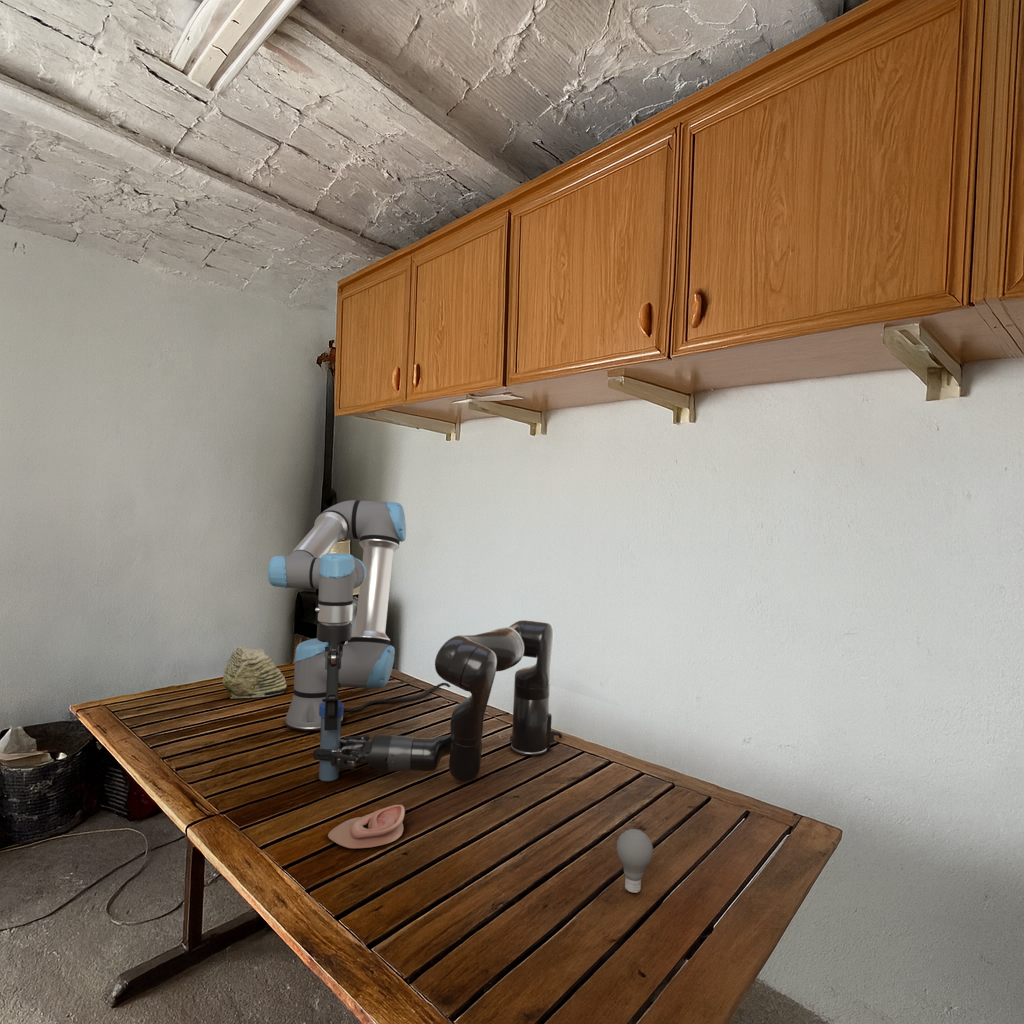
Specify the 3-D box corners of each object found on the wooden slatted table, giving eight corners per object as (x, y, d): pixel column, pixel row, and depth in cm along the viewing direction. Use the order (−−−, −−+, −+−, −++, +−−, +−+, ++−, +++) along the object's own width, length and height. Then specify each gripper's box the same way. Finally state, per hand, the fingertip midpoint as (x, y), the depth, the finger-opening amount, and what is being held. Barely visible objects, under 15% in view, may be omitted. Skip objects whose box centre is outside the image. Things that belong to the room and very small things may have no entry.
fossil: (218, 695, 195) (220, 647, 195) (278, 685, 208) (279, 640, 207) (228, 703, 189) (230, 653, 188) (289, 692, 201) (290, 645, 201)
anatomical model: (320, 822, 115) (348, 794, 127) (319, 843, 116) (348, 813, 127) (388, 833, 113) (411, 803, 124) (387, 855, 113) (410, 823, 124)
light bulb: (610, 879, 108) (613, 822, 108) (644, 879, 109) (647, 822, 109) (619, 902, 102) (622, 840, 102) (655, 901, 103) (658, 840, 103)
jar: (342, 777, 143) (345, 708, 143) (324, 783, 140) (326, 711, 140) (333, 771, 146) (336, 703, 146) (315, 776, 143) (318, 706, 143)
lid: (319, 711, 145) (319, 701, 145) (343, 709, 146) (343, 700, 146) (318, 718, 140) (319, 709, 140) (343, 717, 141) (343, 707, 141)
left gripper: (319, 614, 151) (315, 709, 152) (315, 632, 132) (311, 741, 132) (351, 614, 153) (347, 707, 154) (352, 631, 134) (348, 739, 134)
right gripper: (399, 725, 150) (327, 722, 150) (387, 749, 136) (307, 745, 136) (398, 756, 150) (326, 753, 150) (385, 783, 136) (306, 780, 136)
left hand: (330, 723), depth 143 cm, fingers open, 7 cm apart
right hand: (318, 749), depth 143 cm, fingers closed on jar, 4 cm apart
